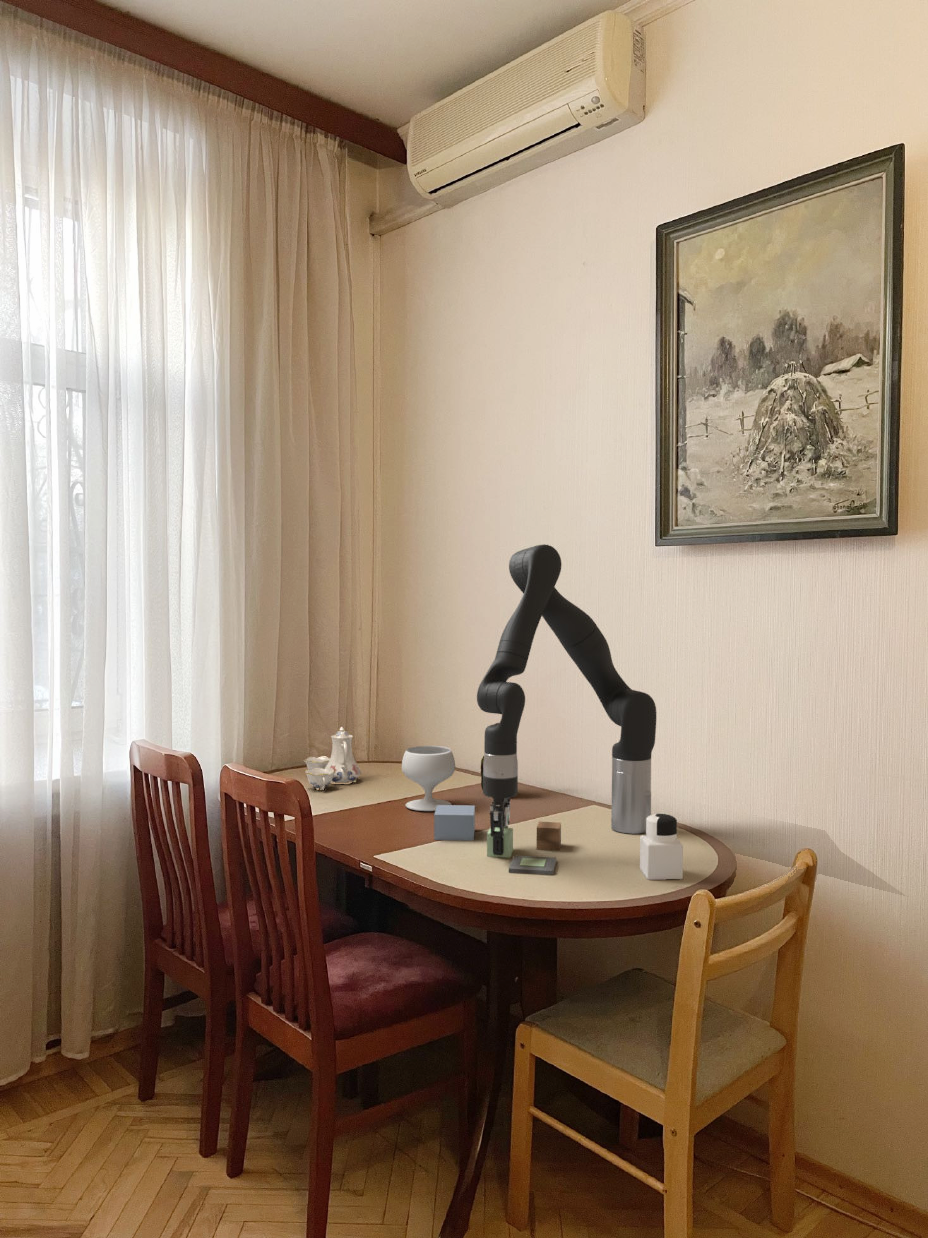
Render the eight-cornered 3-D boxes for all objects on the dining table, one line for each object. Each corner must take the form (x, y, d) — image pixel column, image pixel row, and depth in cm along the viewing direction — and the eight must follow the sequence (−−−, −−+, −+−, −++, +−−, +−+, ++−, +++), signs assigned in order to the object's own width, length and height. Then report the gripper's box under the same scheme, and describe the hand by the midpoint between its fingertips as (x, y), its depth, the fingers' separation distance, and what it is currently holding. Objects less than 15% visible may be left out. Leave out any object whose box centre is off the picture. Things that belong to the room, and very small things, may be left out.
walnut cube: (560, 844, 210) (561, 822, 210) (559, 851, 205) (559, 828, 205) (538, 843, 211) (538, 821, 210) (536, 849, 206) (536, 827, 206)
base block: (474, 830, 222) (474, 805, 221) (473, 841, 213) (473, 815, 212) (437, 830, 222) (437, 805, 222) (434, 840, 213) (434, 814, 213)
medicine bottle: (673, 868, 192) (674, 811, 192) (683, 880, 185) (683, 820, 185) (639, 869, 192) (640, 811, 192) (647, 880, 185) (648, 820, 185)
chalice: (444, 815, 234) (444, 756, 234) (393, 810, 239) (393, 752, 238) (462, 802, 248) (462, 746, 247) (413, 798, 252) (413, 743, 251)
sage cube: (512, 850, 205) (513, 828, 204) (510, 857, 200) (510, 834, 199) (490, 849, 206) (490, 827, 205) (486, 856, 201) (487, 833, 200)
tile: (556, 861, 197) (556, 856, 197) (552, 875, 188) (552, 870, 188) (514, 859, 199) (514, 854, 199) (508, 872, 190) (508, 867, 190)
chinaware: (299, 779, 283) (293, 725, 282) (354, 770, 288) (348, 717, 287) (310, 800, 257) (303, 741, 255) (369, 790, 261) (363, 732, 260)
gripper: (513, 781, 194) (513, 861, 195) (521, 767, 208) (521, 842, 209) (478, 779, 195) (477, 859, 196) (488, 765, 210) (488, 840, 210)
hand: (500, 850), depth 203 cm, fingers closed on sage cube, 5 cm apart
